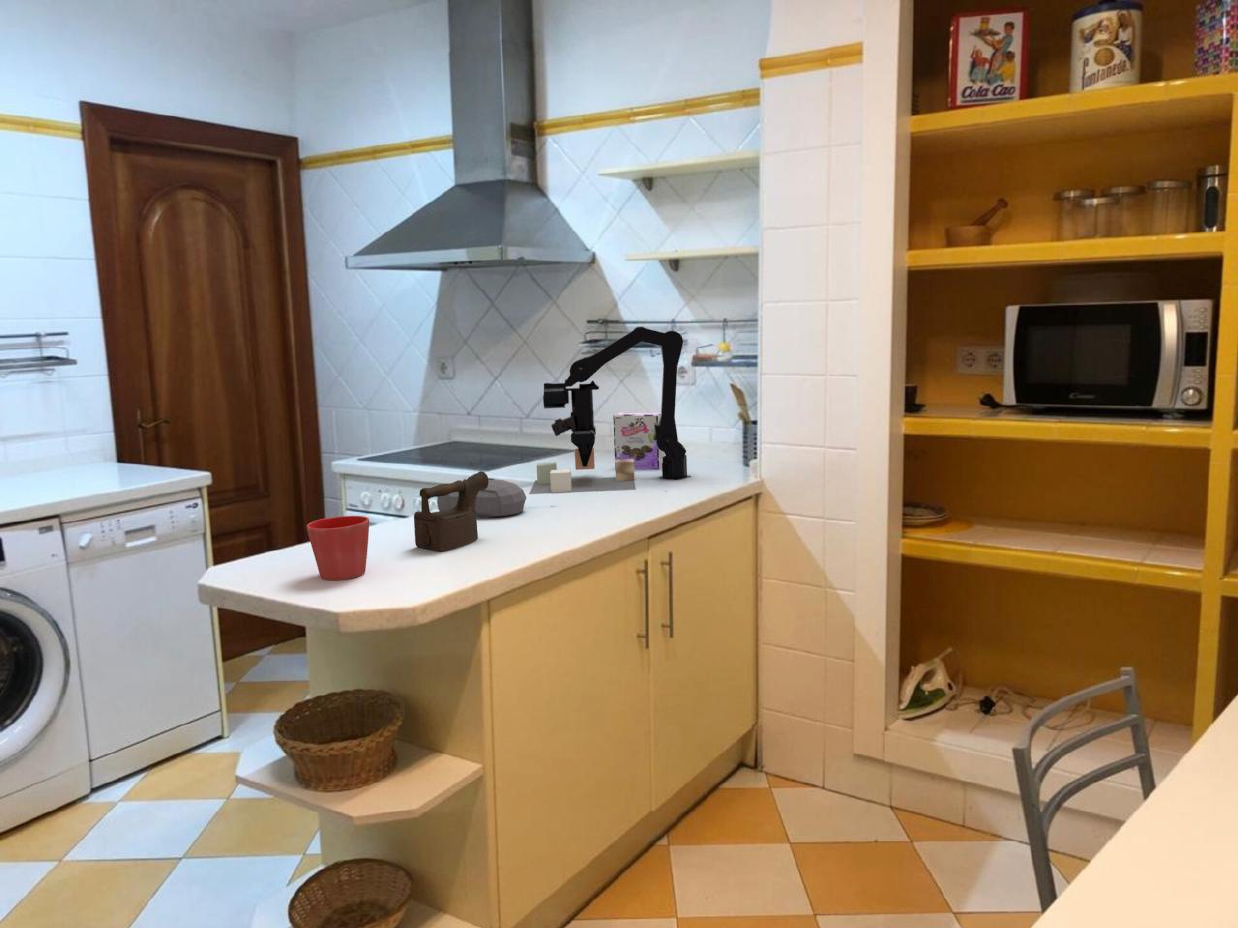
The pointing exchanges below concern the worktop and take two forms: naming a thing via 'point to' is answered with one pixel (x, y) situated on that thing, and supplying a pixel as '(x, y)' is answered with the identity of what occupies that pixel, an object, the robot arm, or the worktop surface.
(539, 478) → the sage block
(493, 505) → the soft grey pack
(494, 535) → the worktop surface
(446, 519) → the clothes iron
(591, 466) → the terracotta block
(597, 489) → the slate mat
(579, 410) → the robot arm
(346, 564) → the flower pot
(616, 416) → the candy box
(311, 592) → the worktop surface
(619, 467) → the beech block
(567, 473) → the taupe block
